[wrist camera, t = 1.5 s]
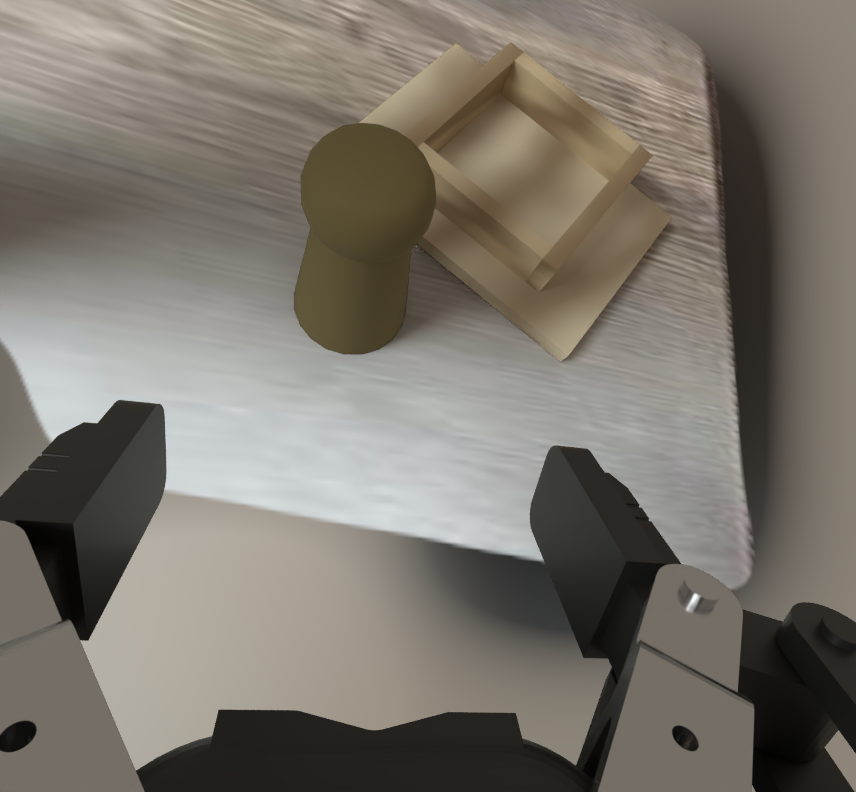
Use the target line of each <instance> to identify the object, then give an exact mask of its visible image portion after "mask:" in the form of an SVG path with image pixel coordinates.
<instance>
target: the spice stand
mask: <svg viewBox="0 0 856 792" xmlns="http://www.w3.org/2000/svg"><path fill="white" fill-rule="evenodd" d="M359 123H369V124H379V125H382V126H385V127H388V128H391V129H393V130H396V131H398V132H399V133H401V134H402V135H404V136H405V137H407V138H408V139H410V140H412V141H413V143H414V144H415V145H416V146H417V147H418V148H419V149H420V151H421V152H422V153H423V154H424V156H425V158H426V159H427V161H428V164H429V166H430V168H431V170H432V172H433V174H434V177H435V187H436V206H435V210H434V214H433V217H432V221H431V223H430V226H429V228H428V230H427V231H426V233H425V234H424V235H423V236H422V238H421V239H420V240H419V242H418V243H417V245H418V246H420V247H421V248H422V249H423V250H425V251H426V252H427V253H428V254H429V255H431V256H432V257H433V258H434V259H436V260H437V261H438V262H439V263H440V264H442V265H443V266H444V267H445V268H447V269H448V270H449V271H450V272H451V273H453V274H454V275H455V276H456V277H457V278H459V279H460V280H461V281H462V282H464V283H465V284H466V285H467V286H468V287H470V288H471V289H472V290H473V291H475V292H476V293H477V294H478V295H479V296H481V297H482V298H483V299H484V300H486V301H487V302H488V303H489V304H490V305H492V306H493V307H494V308H495V309H497V310H498V311H499V312H500V313H501V314H503V315H504V316H505V317H506V318H507V319H509V320H510V321H511V322H512V323H514V324H515V325H516V326H517V327H518V328H520V329H521V330H522V331H523V332H525V333H526V334H527V335H528V336H529V337H531V338H532V339H533V340H534V341H536V342H537V343H538V344H539V345H540V346H542V347H543V348H544V349H545V350H547V351H548V352H549V353H550V354H551V355H553V356H554V357H555V358H556V359H557V360H559V361H560V362H561V361H563V360H564V359H565V358H566V357H567V356H569V354H570V353H571V352H572V350H573V349H574V348H575V346H576V345H577V344H578V342H579V341H580V340H581V338H582V337H583V336H584V334H585V333H586V332H587V330H588V329H589V328H590V326H591V325H592V324H593V322H594V321H595V320H596V318H597V317H598V316H599V314H600V313H601V312H602V310H603V309H604V308H605V306H606V305H607V304H608V302H609V301H610V300H611V298H612V297H613V296H614V294H615V293H616V292H617V290H618V289H619V288H620V286H621V285H622V284H623V282H624V281H625V280H626V278H627V277H628V276H629V274H630V273H631V272H632V270H633V269H634V268H635V266H636V265H637V264H638V262H639V261H640V260H641V258H642V257H643V256H644V254H645V253H646V252H647V250H648V249H649V248H650V246H651V245H652V244H653V242H654V241H655V240H656V238H657V237H658V236H659V234H660V233H661V232H662V230H663V229H664V227H665V226H666V225H667V223H668V222H669V221H670V219H671V218H672V216H670V215H669V214H668V213H667V212H665V211H664V210H663V209H662V208H660V207H659V206H658V205H657V204H655V203H654V202H653V201H652V200H650V199H649V198H648V197H647V196H645V195H644V194H643V193H642V192H640V191H639V190H638V189H637V188H635V187H634V186H633V185H632V184H631V183H630V182H631V181H632V180H633V179H634V177H635V176H636V175H637V174H638V173H639V171H640V170H641V169H642V168H643V166H644V165H645V164H646V163H647V162H648V160H649V159H650V158H651V157H652V156H653V155H651V154H650V153H649V152H648V151H646V150H645V149H644V148H643V147H641V146H640V145H639V144H638V143H636V142H635V141H634V140H633V139H631V138H630V137H629V136H628V135H626V134H625V133H624V132H623V131H621V130H620V129H619V128H618V127H616V126H615V125H614V124H613V123H611V122H610V121H609V120H608V119H606V118H605V117H604V116H603V115H601V114H600V113H599V112H598V111H596V110H595V109H594V108H593V107H591V106H590V105H589V104H588V103H586V102H585V101H584V100H583V99H581V98H580V97H579V96H578V95H576V94H575V93H574V92H573V91H571V90H570V89H569V88H568V87H566V86H565V85H564V84H563V83H561V82H560V81H559V80H558V79H556V78H555V77H554V76H553V75H551V74H550V73H549V72H548V71H546V70H545V69H544V68H543V67H541V66H540V65H539V64H538V63H536V62H535V61H534V60H533V59H531V58H530V57H529V56H528V55H526V54H525V53H524V52H523V51H521V50H520V49H519V48H518V47H516V46H515V45H514V44H513V43H509V44H508V45H507V46H506V47H505V48H504V49H503V50H501V51H500V52H499V53H498V54H497V55H496V56H494V57H493V58H492V59H491V60H490V61H489V62H488V63H486V64H485V65H482V64H481V63H480V62H479V61H477V60H476V59H475V58H474V57H472V56H471V55H470V54H469V53H467V52H466V51H465V50H464V49H462V48H461V47H460V46H459V45H457V44H455V45H453V46H452V47H451V48H450V49H448V50H447V51H446V52H445V53H444V54H442V55H441V56H440V57H439V58H437V59H436V60H435V61H434V62H433V63H431V64H430V65H429V66H428V67H426V68H425V69H424V70H423V71H421V72H420V73H419V74H418V75H417V76H415V77H414V78H413V79H412V80H410V81H409V82H408V83H407V84H406V85H404V86H403V87H402V88H401V89H399V90H398V91H397V92H396V93H395V94H393V95H392V96H391V97H390V98H388V99H387V100H386V101H385V102H384V103H382V104H381V105H380V106H379V107H377V108H376V109H375V110H374V111H372V112H371V113H370V114H369V115H368V116H366V117H365V118H364V119H363V120H361V121H360V122H359Z"/></svg>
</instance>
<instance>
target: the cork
mask: <svg viewBox="0 0 856 792" xmlns="http://www.w3.org/2000/svg"><path fill="white" fill-rule="evenodd" d="M301 205H302V207H303V210H304V212H305V215H306V217H307V220H308V222H309V225H310V227H311V228H310V232H309V236H308V240H307V244H306V248H305V252H304V256H303V260H302V264H301V268H300V272H299V276H298V280H297V284H296V288H295V292H294V310H295V313H296V316H297V318H298V321H299V324H300V326H301V327H302V328H303V329H304V331H305V332H306V333H307V334H308V336H309V337H310V338H311V339H312V340H314V341H315V342H317V343H318V344H320V345H321V346H323V347H324V348H326V349H328V350H332V351H335V352H338V353H342V354H365V353H368V352H371V351H374V350H378V349H380V348H381V347H382V346H384V345H385V344H387V343H388V342H390V341H391V340H392V339H393V338H394V336H395V335H396V334H397V332H398V331H399V329H400V328H401V326H402V323H403V319H404V315H405V312H406V301H407V290H408V280H409V269H410V258H411V249H412V248H413V247H414V246H415V245H416V244H417V243H418V242H419V240H420V239H421V238H422V236H423V235H424V234H425V233H426V231H427V230H428V228H429V226H430V223H431V221H432V217H433V214H434V210H435V206H436V187H435V177H434V174H433V172H432V170H431V168H430V166H429V164H428V161H427V159H426V158H425V156H424V154H423V153H422V152H421V151H420V149H419V148H418V147H417V146H416V145H415V144H414V143H413V141H412V140H410V139H408V138H407V137H405V136H404V135H402V134H401V133H399V132H398V131H396V130H393V129H391V128H388V127H385V126H382V125H379V124H369V123H356V124H350V125H345V126H342V127H340V128H338V129H336V130H334V131H332V132H330V133H328V134H327V135H326V136H324V137H323V138H322V139H321V140H320V141H319V142H318V143H317V144H316V145H315V146H314V147H313V149H312V150H311V151H310V153H309V156H308V159H307V161H306V164H305V166H304V169H303V171H302V174H301Z"/></svg>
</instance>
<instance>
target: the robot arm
mask: <svg viewBox="0 0 856 792" xmlns="http://www.w3.org/2000/svg"><path fill="white" fill-rule="evenodd" d="M165 482H166V444H165V416H164V409H163V407H162V405H161V404H154V403H144V402H134V401H124V400H118V401H116V402H115V403H114V405H113V406H112V407H111V408H110V409H109V410H108V412H107V413H106V414H105V415H104V416H103V418H102V419H101V420H100V421H99V422H98V423H97V424H96V423H85V422H84V423H82V424H80V425H78V426H76V427H74V428H72V429H70V430H68V431H66V432H64V433H62V434H60V435H58V436H57V437H56V438H55V440H54V441H53V442H52V443H51V444H50V445H49V446H48V447H47V448H46V449H45V450H44V451H43V452H42V456H39V457H38V458H37V459H36V460H35V461H34V462H33V463H32V464H31V465H30V466H29V469H28V471H24V472H23V473H22V475H21V476H20V477H19V478H18V479H17V480H16V481H15V482H14V483H13V484H12V485H11V486H10V487H9V488H8V489H7V490H6V491H5V492H4V494H3V495H2V496H1V497H0V792H751V791H752V785H753V787H754V789H755V791H756V792H854V790H853V789H852V787H851V786H850V785H849V783H848V782H847V780H846V779H845V777H844V776H843V774H842V773H841V771H840V770H839V768H838V767H837V765H836V764H835V762H834V761H833V760H832V758H831V757H830V755H829V754H828V752H827V751H826V749H825V748H824V747H825V746H826V745H827V744H828V742H829V741H830V740H831V739H832V737H833V736H834V735H835V734H836V732H837V731H838V730H839V731H840V732H841V734H842V735H843V736H844V738H845V739H846V741H847V742H848V743H849V745H850V746H851V747H852V749H853V750H854V752H855V753H856V623H855V622H854V621H852V620H851V619H849V618H848V617H846V616H844V615H842V614H841V613H839V612H837V611H835V610H833V609H830V608H828V607H825V606H822V605H819V604H814V603H805V602H804V603H798V604H796V605H794V606H793V607H792V609H791V610H790V612H789V613H788V615H787V616H786V618H785V619H784V621H783V622H782V621H778V620H775V619H772V618H769V617H765V616H762V615H759V614H756V613H752V612H749V611H746V610H743V609H742V607H741V605H740V603H739V601H738V599H737V598H736V597H735V596H734V594H733V593H732V592H731V591H730V590H729V589H728V588H727V587H726V586H725V585H724V584H723V583H721V582H720V581H719V580H717V579H716V578H714V577H713V576H711V575H709V574H707V573H705V572H704V571H701V570H699V569H697V568H694V567H691V566H687V565H682V564H681V563H680V561H679V560H678V559H677V557H676V556H675V554H674V553H673V551H672V550H671V549H670V547H669V546H668V544H667V543H666V542H665V540H664V539H663V537H662V536H661V535H660V533H659V532H658V530H657V529H656V528H655V526H654V525H653V523H652V522H650V521H649V518H648V516H647V515H646V513H645V512H644V511H643V509H642V508H639V504H638V502H637V501H636V499H635V498H634V497H633V495H632V494H631V492H630V491H629V489H628V488H627V487H626V486H624V485H623V484H622V483H621V482H619V481H618V480H617V479H616V478H614V477H613V476H612V475H611V474H609V473H604V471H603V470H602V468H601V467H600V465H599V464H598V462H597V461H596V459H595V458H594V456H593V455H592V453H591V452H590V451H589V450H588V449H584V448H574V447H565V446H553V447H551V448H550V450H549V452H548V454H547V456H546V459H545V462H544V466H543V469H542V472H541V475H540V478H539V481H538V484H537V487H536V490H535V493H534V496H533V499H532V503H531V508H530V524H531V529H532V532H533V535H534V537H535V540H536V542H537V545H538V547H539V549H540V552H541V554H542V557H543V559H544V562H545V564H546V567H547V569H548V571H549V574H550V576H551V579H552V581H553V583H554V586H555V589H556V591H557V594H558V596H559V598H560V601H561V603H562V606H563V608H564V611H565V613H566V616H567V618H568V621H569V623H570V625H571V628H572V630H573V633H574V635H575V638H576V640H577V642H578V645H579V648H580V650H581V652H582V655H583V657H584V658H608V659H609V662H610V664H611V666H612V668H611V670H610V672H609V674H608V676H607V678H606V680H605V683H604V686H603V689H602V692H601V695H600V698H599V701H598V704H597V707H596V710H595V712H594V716H593V718H592V721H591V725H590V727H589V730H588V733H587V736H586V739H585V742H584V744H583V747H582V750H581V753H580V756H579V759H578V761H577V764H576V766H575V765H574V764H573V763H571V762H570V761H568V760H567V759H565V758H564V757H562V756H560V755H559V754H557V753H555V752H553V751H551V750H549V749H548V748H546V747H543V746H541V745H539V744H536V743H534V742H531V741H529V740H525V739H522V736H521V732H520V728H519V724H518V721H517V716H516V713H467V712H466V713H464V712H447V713H443V714H440V715H436V716H432V717H428V718H424V719H421V720H417V721H413V722H409V723H406V724H402V725H398V726H394V727H390V728H386V729H383V730H378V731H377V730H375V731H374V730H366V729H363V728H359V727H356V726H352V725H348V724H344V723H341V722H337V721H334V720H330V719H326V718H323V717H319V716H315V715H311V714H308V713H304V712H300V711H289V710H286V711H285V710H219V711H218V715H217V719H216V723H215V728H214V732H213V736H212V737H208V738H204V739H200V740H197V741H194V742H191V743H189V744H186V745H183V746H180V747H178V748H176V749H174V750H172V751H170V752H168V753H166V754H164V755H162V756H160V757H157V758H156V759H154V760H153V761H151V762H149V763H148V764H146V765H145V766H143V767H141V768H140V769H138V770H135V768H134V766H133V763H132V761H131V759H130V756H129V754H128V752H127V749H126V747H125V745H124V742H123V740H122V738H121V735H120V733H119V731H118V728H117V726H116V724H115V721H114V719H113V717H112V714H111V712H110V710H109V707H108V705H107V702H106V700H105V698H104V695H103V693H102V691H101V688H100V686H99V684H98V681H97V679H96V677H95V675H94V672H93V670H92V667H91V665H90V663H89V660H88V658H87V656H86V653H85V651H84V649H83V646H82V644H81V642H80V640H89V638H90V636H91V634H92V632H93V630H94V628H95V626H96V624H97V623H98V621H99V619H100V617H101V615H102V613H103V611H104V609H105V607H106V605H107V603H108V601H109V599H110V598H111V596H112V594H113V592H114V590H115V588H116V586H117V584H118V582H119V580H120V578H121V576H122V574H123V573H124V571H125V569H126V567H127V565H128V563H129V561H130V559H131V557H132V555H133V553H134V551H135V550H136V547H137V546H138V544H139V542H140V540H141V538H142V536H143V534H144V532H145V530H146V528H147V526H148V524H149V523H150V521H151V519H152V517H153V515H154V513H155V511H156V509H157V507H158V505H159V503H160V501H161V498H162V495H163V492H164V488H165Z"/></svg>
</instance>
